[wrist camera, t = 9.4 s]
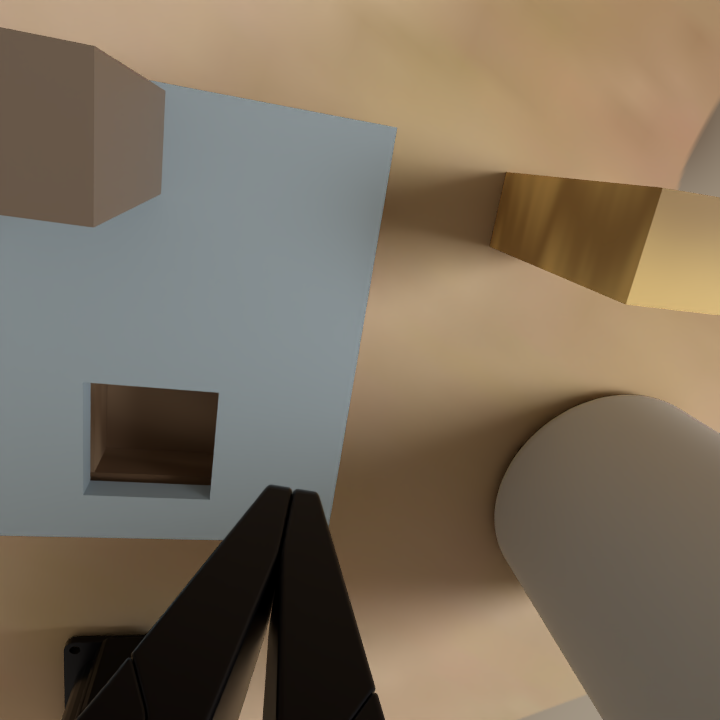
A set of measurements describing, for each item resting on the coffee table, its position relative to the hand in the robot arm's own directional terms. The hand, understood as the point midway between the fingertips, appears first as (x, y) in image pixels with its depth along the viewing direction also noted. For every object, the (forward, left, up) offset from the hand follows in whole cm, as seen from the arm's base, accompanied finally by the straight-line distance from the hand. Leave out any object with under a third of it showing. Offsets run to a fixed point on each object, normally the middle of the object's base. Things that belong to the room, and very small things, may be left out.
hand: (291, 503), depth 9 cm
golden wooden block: (+5, -11, -16) cm, 20 cm away
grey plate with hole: (-1, +7, -12) cm, 14 cm away
